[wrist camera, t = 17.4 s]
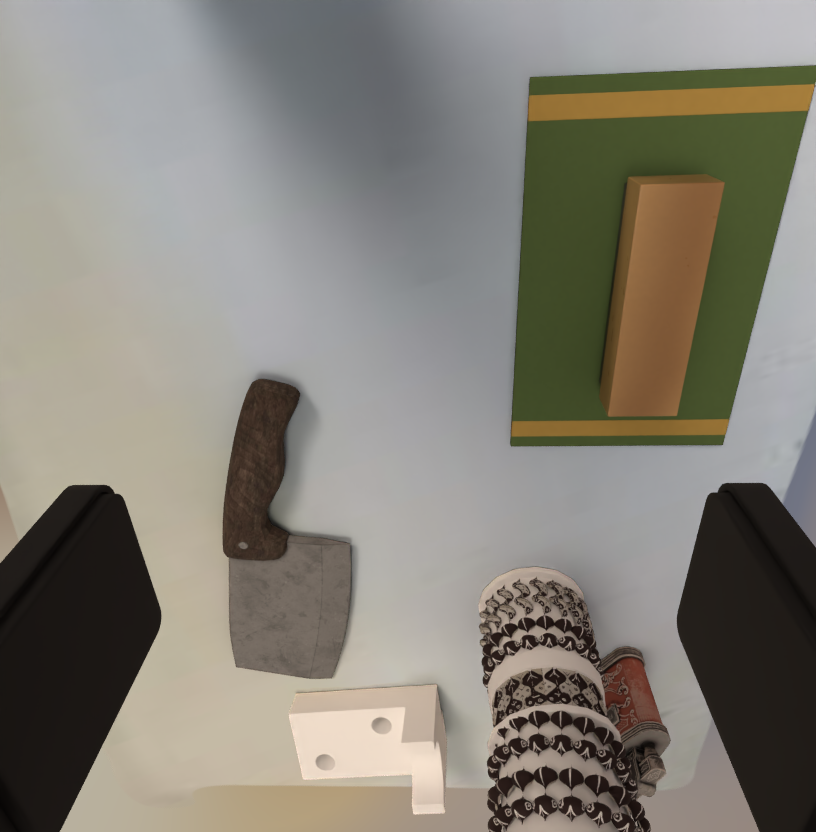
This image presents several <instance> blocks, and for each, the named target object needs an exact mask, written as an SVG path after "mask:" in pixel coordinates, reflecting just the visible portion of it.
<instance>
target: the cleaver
mask: <svg viewBox="0 0 816 832" xmlns="http://www.w3.org/2000/svg"><path fill="white" fill-rule="evenodd" d="M299 397H300V393H299V391H298V390H297V389H296V387H293V386H291V385H288V384H284V383H280V382H276V381H272V380H267V379H258V380H256V381H254V382H253V383H252V384H251V386H250V388H249V390H248V392H247V394H246V397H245V400H244V403H243V406H242V409H241V413H240V416H239V420H238V424H237V428H236V432H235V437H234V442H233V447H232V453H231V458H230V464H229V470H228V477H227V484H226V492H225V500H224V512H223V551H224V553H225V555H226V556H227V557H229V623H230V636H231V643H232V649H233V654H234V659H235V664H236V667H239V668H245V669H252V670H258V671H264V672H271V673H277V674H284V675H290V676H296V677H303V678H309V679H321V678H332V677H333V674H334V671H335V669H336V666H337V663H338V660H339V656H340V653H341V650H342V646H343V642H344V638H345V633H346V628H347V622H348V615H349V606H350V593H351V557H350V544H348V543H344V542H339V541H334V540H329V539H325V538H316V537H304V536H293V535H288V533H287V532H286V531H284V530H281V529H279V528H277V527H275V526H273V525H272V524H271V523H270V521H269V519H268V517H267V509H268V506H269V504H270V503H271V501H272V499H273V497H274V496H275V494H276V492H277V491H278V489H279V486H280V484H281V481H282V479H283V476H284V467H285V457H284V444H283V438H284V432H285V429H286V427H287V425H288V422H289V420H290V418H291V416H292V414H293V412H294V411H295V409H296V407H297V404H298V400H299Z"/></svg>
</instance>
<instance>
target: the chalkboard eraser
mask: <svg viewBox="0 0 816 832" xmlns="http://www.w3.org/2000/svg"><path fill="white" fill-rule="evenodd" d="M724 185H725V182H723V181H721V180H718V179H716V178H714V177H712V176H709V175H707V174H696V175H664V176H633V177H628V181H627V183H625V185H624V193H623V200H622V208H621V216H620V224H619V231H618V239H617V247H616V254H615V262H614V270H613V278H612V285H611V293H610V301H609V308H608V316H607V324H606V332H605V339H604V347H603V355H602V362H601V370H600V378H599V382H600V384H601V387H600V394H599V398H600V400H601V403H602V405H603V407H604V409H605V411H606V413H607V416H609V417H617V416H677V413H678V408H679V403H680V398H681V393H682V389H683V384H684V379H685V374H686V369H687V364H688V359H689V355H690V350H691V345H692V340H693V335H694V330H695V325H696V321H697V316H698V311H699V306H700V301H701V296H702V291H703V287H704V282H705V277H706V272H707V267H708V262H709V258H710V253H711V248H712V243H713V238H714V233H715V228H716V224H717V219H718V214H719V209H720V204H721V199H722V194H723V190H724Z"/></svg>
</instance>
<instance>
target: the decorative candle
mask: <svg viewBox="0 0 816 832" xmlns="http://www.w3.org/2000/svg"><path fill="white" fill-rule="evenodd" d="M478 606H479V612H480V617H481V621H482V623H481V624H480V625H479V628H480V631H481V633H482V634H485V636H484V639H481V640H480V645H481V646H482V647H483V650H482V652H483V655H484V657H483V659H482V665H483V667H484V673H485V675H484V677H483V684H484V685H485V687H487V688H488V690H487V691H488V697H489V705H490V709H491V713H492V716H493V726H494V729H493V731H492V733H491V736H490V738H489V741H488V750H489V754H490V757H489V759H488V761H487V766H488V768H489V769H488V775H489V777H490V778H491V779H492V780H494V781H495V782H496V784H495V786H494V787H492V788H490V790H489V791H488V798H489V799H488V802H487V805H488V808H489V809H490V810H491V811H492V812H494V815H495V816H493V817H491V818H490V820H489V822H488V829H489V832H501V829H502V826H503V830H504V832H650V829H651V827H650V823H649V821H648V820H647V819H646V818H644V815H645V811H644V808H643V806H642V805H641V804H640V803H639V802H637V799H636V798H635V797H636V795H637V793H638V786H637V784H636V782H635V781H634V780H633V779H631V772H630V769H631V763H630V761H629V759H628V758H627V757H625V755H626V749H625V747H624V745H623V744H622V743H621V736H620V733H619V731H618V730H617V729H616V727H615V726H614V725H613V724H612V723H611V721H610V720H609V719H608V716H607V712H606V707H605V706H606V704H605V693H604V688H603V684H602V679H603V677H604V671H603V669H602V668H601V667H600V666H601V659H600V658H599V653H598V651H597V650H596V649H595V647H596V641H595V640H594V631H593V629H592V623H591V621H590V617H589V614H588V612H587V605H586V603H585V602H584V596H583V592H582V591H581V589H580V588H579V587H578V585H577V584H576V583H575V581H574V580H573V579H571V578H570V577H568V576H566V575H564V574H562V573H561V572H559V571H557V570H552V569H546V568H541V567H529V568H520V569H514V570H511V571H509V572H507V573H505V574H503V575H500V576H498V577H496V578H495V579H494V580H493V581H492V582H491V583H490V584H489V585H488V586H487V587H486V588H485V589H484V590H483V592H482V595H481V598H480V601H479V604H478ZM618 760H619V762H617V761H618ZM625 788H626V789H625ZM500 799H501V804H499V803H500ZM631 815H632V817H633V819H634V821H633V819H632V818H631ZM636 821H637V824H638V827H637V826H636V825H635V823H634V822H636Z"/></svg>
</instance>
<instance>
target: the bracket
mask: <svg viewBox="0 0 816 832" xmlns="http://www.w3.org/2000/svg"><path fill="white" fill-rule="evenodd" d="M289 719H290V723H291V728H292V732H293V736H294V741H295V745H296V750H297V754H298V759H299V763H300V767H301V772H302V776H303V780H309V779H330V778H351V777H373V776H394V775H412V789H413V790H412V791H413V792H412V793H413V794H412V808H413V814H433V813H434V814H435V813H445V792H446V759H447V739H446V732H445V725H444V719H443V712H442V710H441V709H440V702H439V696H438V689H437V684H435V685H420V686H404V687H389V688H373V689H358V690H342V691H327V692H311V693H296V695H295V698H294V700H293V703H292V706H291V709H290V711H289Z"/></svg>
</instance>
